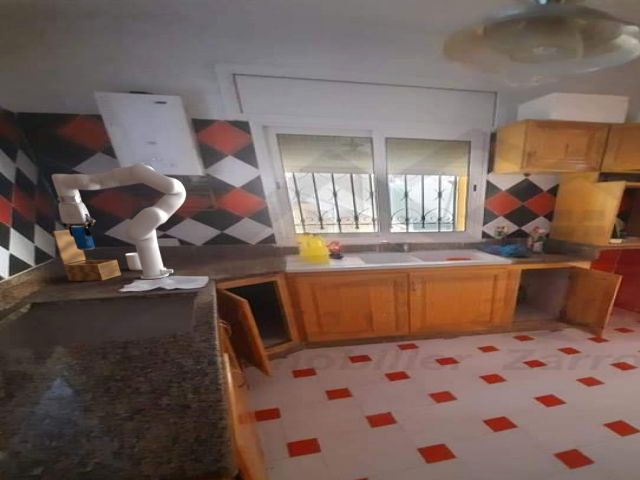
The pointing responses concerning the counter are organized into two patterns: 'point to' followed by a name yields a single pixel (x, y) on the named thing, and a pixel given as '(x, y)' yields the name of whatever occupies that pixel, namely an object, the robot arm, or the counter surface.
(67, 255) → the lid
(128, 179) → the robot arm
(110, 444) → the counter surface
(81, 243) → the beverage can
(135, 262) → the cup
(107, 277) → the chest
